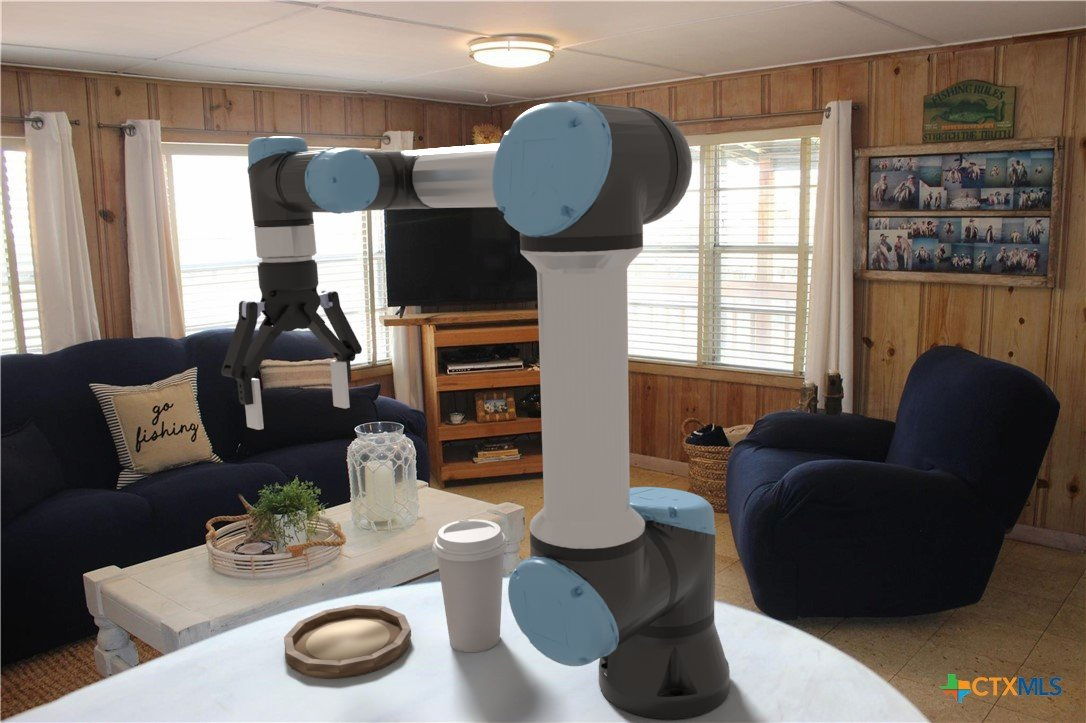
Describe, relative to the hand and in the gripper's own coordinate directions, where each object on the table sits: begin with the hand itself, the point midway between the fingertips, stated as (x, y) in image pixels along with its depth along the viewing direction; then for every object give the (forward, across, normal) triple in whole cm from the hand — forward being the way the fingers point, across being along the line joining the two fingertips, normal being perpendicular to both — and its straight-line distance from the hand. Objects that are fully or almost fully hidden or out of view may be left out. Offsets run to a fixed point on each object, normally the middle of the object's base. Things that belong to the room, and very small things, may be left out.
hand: (300, 417), depth 121 cm
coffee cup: (+28, -8, +24) cm, 38 cm away
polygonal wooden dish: (+28, +4, +12) cm, 31 cm away
